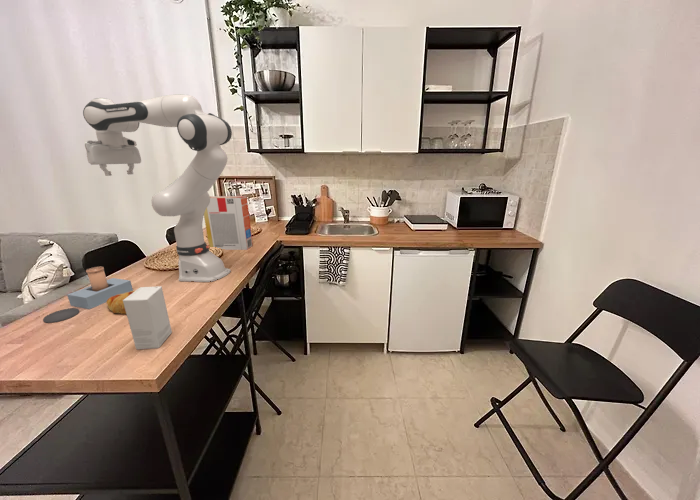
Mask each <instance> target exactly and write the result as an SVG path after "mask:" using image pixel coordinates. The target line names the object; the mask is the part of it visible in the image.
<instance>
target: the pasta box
mask: <svg viewBox="0 0 700 500" xmlns="http://www.w3.org/2000/svg"><path fill="white" fill-rule="evenodd" d="M209 196H210V195H209ZM248 202H249V201H248V196H247V195H221V196H220V195H219V196H218V195H214V196H213V195H212V196H210V203H209V205H208V206H207V208H206V210H205V212H204V216H203V220H204V224H205V229H206V235H207V236H206V237H207V241H208V245H210V246H208V247H217V248H221V249H225V250H224V251H229V250H231V251H232V250H233V251H236V250H237V251H239V250H241V251H247V250H249V249H251V248H252V247H253V246H254V245H253V242H254V241H253V236H252V227H251V219H250V213H249V205H248V204H249V203H248Z"/></svg>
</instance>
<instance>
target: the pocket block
mask: <svg viewBox="0 0 700 500" xmlns="http://www.w3.org/2000/svg"><path fill="white" fill-rule="evenodd" d="M131 281H132V280H129V279H121V278H117V277H111V278H109V279H107V283H108V286H109V287H108V288H105V289H103V290H100V291H97V292H96V291H93V290H92V287H91V285H89V286H86V287H84V288H82V289H78V290H76V291H73V292H71V293H68V294H66V296H67V299H68V302H69V305H70V307H74V308H81V309H86V310H91V309H94V308H96V307H99V306H101V305H103V304H105V303H106V302H107V300H108V299H109V298H110V297H112V296H115V295H118V294H124V293H126V292H130V291H134V289H133V285H132V282H131Z"/></svg>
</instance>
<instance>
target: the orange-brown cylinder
mask: <svg viewBox="0 0 700 500" xmlns="http://www.w3.org/2000/svg"><path fill="white" fill-rule="evenodd" d="M85 272H86V274H87V277H88V281H89V283H90V286H91V287H92V290H93V291H96V292H97V291H100V290H103V289H105V288H108V287H109V286H108V283H107V280H108V279H107V276H106V273H105V268H104V266H94V267H93V266H92V267H91V268H86V270H85Z"/></svg>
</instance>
